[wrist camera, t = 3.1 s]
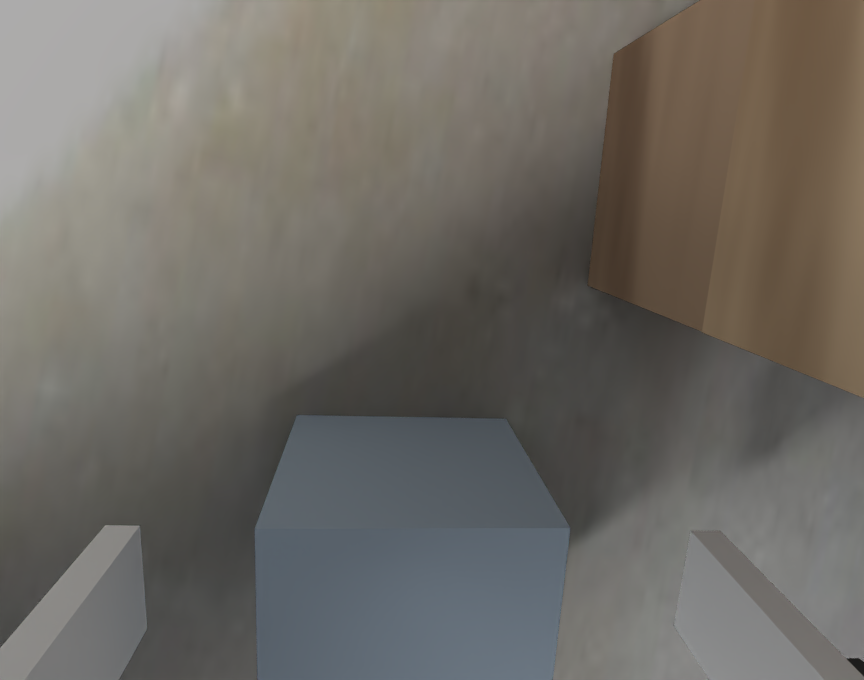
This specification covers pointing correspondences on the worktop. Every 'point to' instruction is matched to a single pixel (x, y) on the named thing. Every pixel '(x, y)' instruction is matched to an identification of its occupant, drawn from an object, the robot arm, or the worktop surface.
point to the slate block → (407, 554)
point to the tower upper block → (796, 195)
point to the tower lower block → (669, 159)
